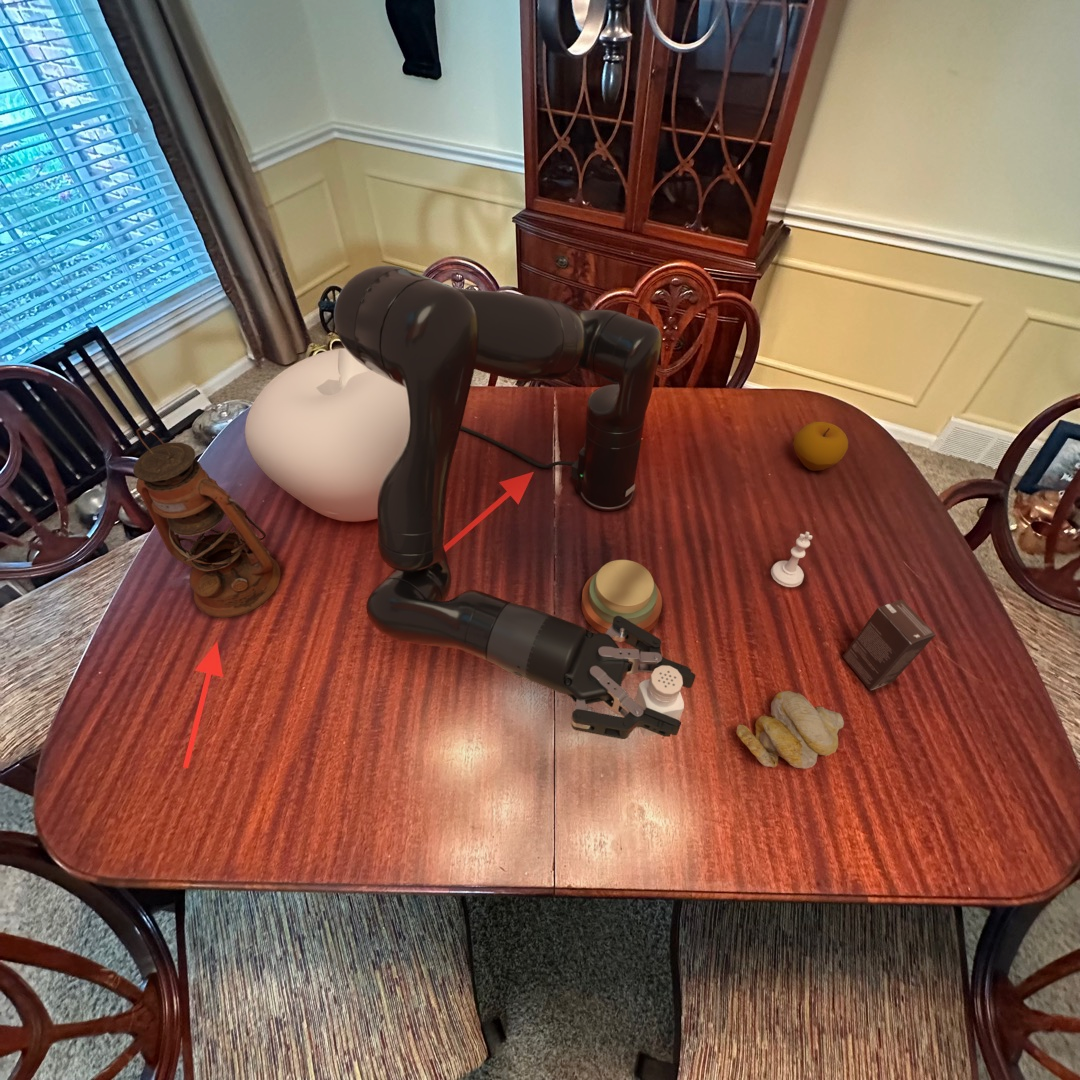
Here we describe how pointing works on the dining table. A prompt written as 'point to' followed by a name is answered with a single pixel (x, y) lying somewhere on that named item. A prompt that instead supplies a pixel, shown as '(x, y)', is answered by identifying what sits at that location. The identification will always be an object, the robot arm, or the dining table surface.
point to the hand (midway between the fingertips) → (685, 704)
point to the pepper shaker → (661, 694)
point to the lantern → (196, 507)
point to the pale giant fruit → (329, 433)
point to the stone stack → (793, 732)
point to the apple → (820, 445)
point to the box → (887, 644)
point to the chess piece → (792, 564)
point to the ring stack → (621, 596)
